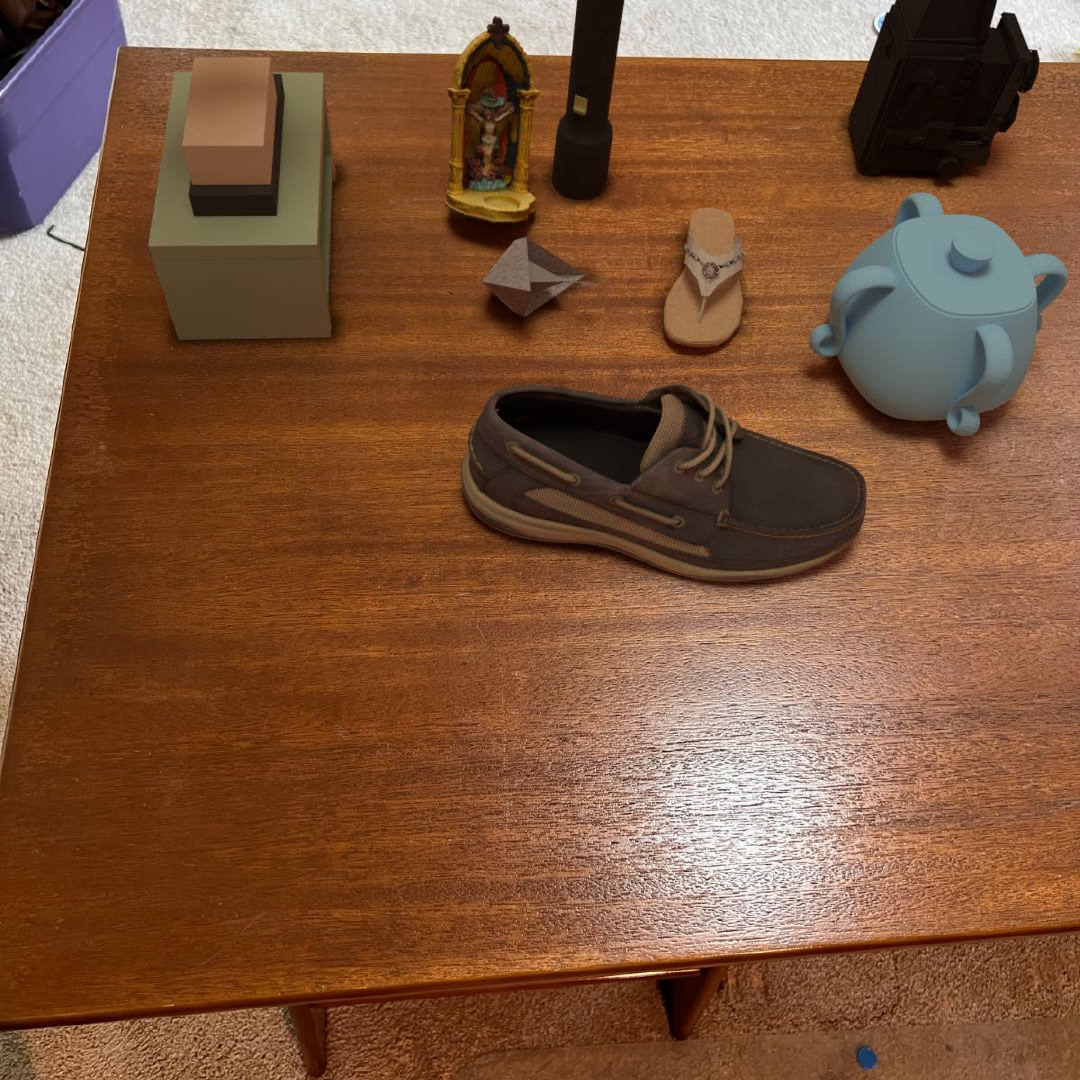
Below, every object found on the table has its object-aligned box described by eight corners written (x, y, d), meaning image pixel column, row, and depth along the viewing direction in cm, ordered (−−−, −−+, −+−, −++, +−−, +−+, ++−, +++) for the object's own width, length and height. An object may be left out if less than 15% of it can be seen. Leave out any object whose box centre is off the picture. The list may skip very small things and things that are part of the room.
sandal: (660, 353, 88) (671, 310, 84) (665, 221, 97) (674, 176, 92) (741, 362, 89) (755, 319, 84) (738, 229, 97) (751, 184, 92)
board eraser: (277, 216, 80) (265, 154, 75) (193, 216, 79) (177, 154, 75) (284, 95, 87) (275, 32, 82) (208, 95, 86) (194, 31, 82)
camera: (997, 191, 102) (1106, -13, 85) (856, 183, 101) (937, -24, 84) (975, 122, 107) (1073, -83, 90) (840, 114, 106) (914, -94, 89)
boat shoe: (858, 598, 77) (911, 517, 68) (451, 563, 77) (450, 477, 68) (845, 474, 83) (892, 385, 74) (466, 441, 83) (467, 346, 73)
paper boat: (520, 227, 93) (620, 235, 90) (518, 302, 96) (616, 312, 93) (457, 241, 83) (568, 250, 80) (457, 325, 86) (565, 337, 82)
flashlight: (566, 156, 100) (542, 187, 98) (594, -112, 80) (564, -81, 78) (615, 175, 100) (591, 207, 97) (656, -91, 79) (627, -59, 77)
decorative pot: (772, 362, 89) (819, 237, 77) (879, 265, 95) (937, 136, 84) (940, 479, 84) (1017, 363, 72) (1041, 367, 90) (1126, 245, 79)
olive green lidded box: (331, 337, 87) (317, 244, 79) (178, 340, 86) (147, 245, 77) (335, 170, 97) (323, 72, 89) (199, 171, 96) (174, 71, 88)
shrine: (444, 163, 99) (442, 8, 86) (532, 164, 100) (543, 11, 87) (445, 252, 93) (443, 100, 80) (539, 252, 94) (552, 102, 81)
